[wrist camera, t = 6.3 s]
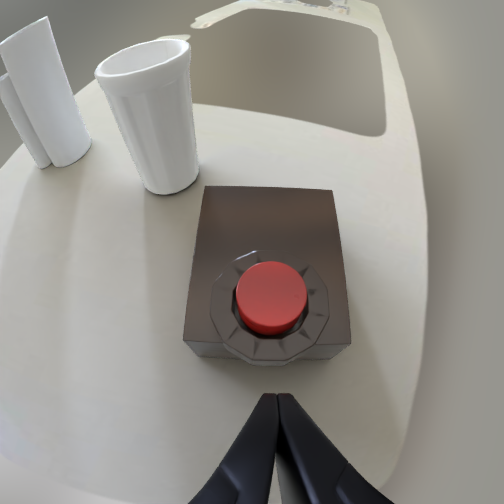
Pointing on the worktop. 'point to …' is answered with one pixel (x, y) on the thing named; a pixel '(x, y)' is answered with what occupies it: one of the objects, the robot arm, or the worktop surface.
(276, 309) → the led button
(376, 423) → the worktop surface
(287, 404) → the robot arm
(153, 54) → the cup
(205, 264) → the switch block
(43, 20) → the vase
